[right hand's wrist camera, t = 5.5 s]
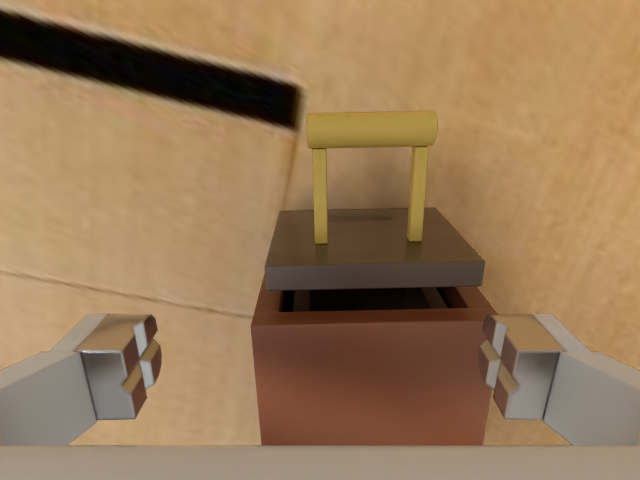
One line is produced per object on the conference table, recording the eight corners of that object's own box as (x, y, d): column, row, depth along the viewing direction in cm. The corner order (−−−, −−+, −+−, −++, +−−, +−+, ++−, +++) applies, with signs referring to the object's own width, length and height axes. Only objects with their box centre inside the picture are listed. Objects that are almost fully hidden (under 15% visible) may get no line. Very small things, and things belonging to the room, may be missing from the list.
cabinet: (272, 239, 26) (250, 325, 17) (437, 235, 26) (503, 320, 17) (286, 445, 32) (274, 591, 23) (419, 443, 32) (460, 586, 23)
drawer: (273, 106, 22) (253, 119, 15) (444, 103, 22) (505, 114, 15) (291, 420, 30) (283, 528, 23) (417, 417, 30) (449, 524, 23)
